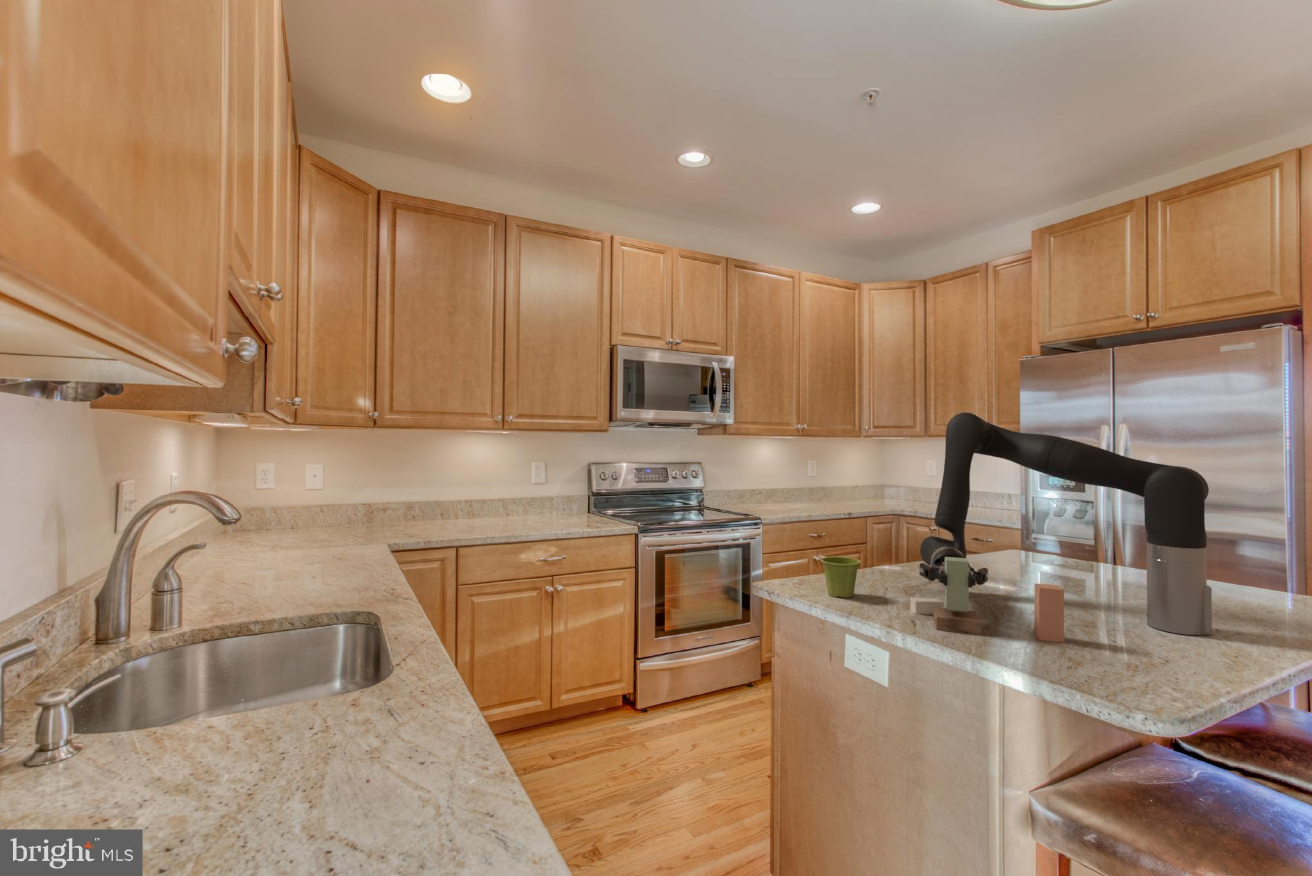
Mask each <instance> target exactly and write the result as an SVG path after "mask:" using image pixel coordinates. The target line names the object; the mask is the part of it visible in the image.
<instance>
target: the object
mask: <svg viewBox="0 0 1312 876" xmlns="http://www.w3.org/2000/svg"><path fill="white" fill-rule="evenodd" d="M820 562H821V563H822V567H823V568H824V577H825V584H826V589H827V590H826V591H827V594H828V596H831V597H833V598H838V597H839V598H843V599H848V598H853V596H854V595H855V588H856V581H857V573H858V569H859V567H860V565H861V560H859V559H858V558H853V557H846V556H825V557H822V558H820Z"/></svg>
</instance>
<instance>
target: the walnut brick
mask: <svg viewBox="0 0 1312 876" xmlns="http://www.w3.org/2000/svg"><path fill="white" fill-rule="evenodd" d="M932 615H933V617H932V618H933V623H934V626H935V630H936V631H942V632H950V633H951V632H952V633H959V632H964V633H963V634H968V633H970V635H977V634H980V635H979V636H982V621H981V619H980V617H979V615H978V613H977V611H976V610H969V609H968V611H957V610H947V609H946V607H944V608H940V607H933V614H932Z"/></svg>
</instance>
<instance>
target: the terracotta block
mask: <svg viewBox="0 0 1312 876" xmlns="http://www.w3.org/2000/svg"><path fill="white" fill-rule="evenodd" d="M1033 589H1034V596H1033V597H1034V605H1033V606H1034V610H1033V611H1034V615H1033V616H1034V618H1033V619H1034V623H1033V624H1034V627H1033V628H1034V629H1033V631H1034V635H1035V637H1037V639H1038V640H1039V641H1047V642H1055V643H1065V626H1064V625H1065V605H1064V604H1065V589H1063V588H1062V587H1061V586H1060V585H1059V584H1046V583H1036V582H1035V583H1034V588H1033Z"/></svg>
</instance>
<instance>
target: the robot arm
mask: <svg viewBox="0 0 1312 876" xmlns="http://www.w3.org/2000/svg"><path fill="white" fill-rule="evenodd" d="M974 454H978V455H982V456H990V457H994V458H998V459H999V458H1000V459H1003V460H1007V461H1009V462H1012V463H1015V464H1017V465H1020V466H1021V467H1025V468H1027V469H1030V470H1032V471H1035V472H1039V473H1041V474H1044V475H1048V476H1051V477H1054V478H1058V479H1062V480H1066V481H1070V482H1073V483H1077V484H1083V485H1084V484H1085V485H1090V486H1095V487H1102V488H1104V487H1105V488H1111V489H1115V490H1120V491H1124V492H1126V493H1130V494H1133V495H1136V496H1139V497H1141V498H1144V499H1143V501H1144V502H1143V504H1144V509H1143V510H1144V511H1143V513H1144V528H1145V533H1146V625H1148V626H1149V627H1151V628H1154V629H1156V630H1159V631H1164V632H1169V633H1173V634H1174V633H1175V634H1179V635H1189V636H1204V635H1206V636H1207V635H1208V636H1212V635H1213V634H1212V632H1213V631H1212V627H1213V626H1212V622H1213V621H1212V618H1213V617H1212V615H1213V614H1212V613H1213V612H1212V597H1213V596H1212V594H1213V593H1212V587H1211V586H1210V585H1208V584H1207V545H1208V544H1207V538H1208V537H1207V532H1206V523H1205V519H1206V518H1205V513H1206V512H1205V509H1206V508H1205V506H1206V504H1205V503H1206V502H1205V501H1206V500H1207V498H1208V495H1209V492H1210V491H1209V485H1208V481H1206V478H1205V477H1203V476H1202V474H1200V473H1199V472H1198V471H1196V470H1194V469H1192V468H1189V467H1185V466H1177V465H1170V464H1162V463H1158V462H1157V463H1156V462H1150V461H1146V460H1145V461H1144V460H1140V459H1135V458H1131V457H1127V456H1125V455H1121V454H1119V453H1115V452H1113V451H1110V450H1108V449H1104V448H1101V447H1099V446H1095V445H1092V444H1087V443H1085V442H1082V441H1081V442H1080V441H1077V440H1073V439H1070V438H1065V437H1061V436H1057V435H1056V436H1055V435H1050V434H1042V433H1029V432H1028V433H1027V432H1019V431H1014V430H1010V429H1007V428H1003V427H1000V426H998V425H995V424H992V423H990V422H988V421H986V420H984V419H983V418H981V417H980V416H978V415H976V414H974V413H971V412H960V413H957V414H955V415H953V416H952V418H950V420H949V421H948V422H947V424H946V429H945V452H944V455H945V456H944V466H943V467H944V468H943V475H942V481H941V486H940V492H939V497H938V502H937V506H936V510H935V515H934V521H933V522H934V525H935V526H936V527H938V528H940V529H942V530H944V531H947V532H948V533H950V534H951V535H952V538H953V540H951V539H947V538H943V537H939V536H933V535H931V536H927V537H925V538H924V539H923V540H922V542H921V544H920V548H919V553H920V558H921V559H922V561H923V562H924V563H923V562H921V563H919V569H918V570H919V572H918V573H919V575H920V576H921V577H923V578H925V579H927V580H928V581H931V582H934V581H935V580H937V582H938V583H940V584H943V586H945V585H946V586H947V574H946V572H945V557H954V558H966V559H967V549H966V540H965V539H966V538H965V531H966V530H965V529H966V522H967V521H966V520H967V517H968V512H969V508H970V499H971V483H970V482H971V480H970V479H971V478H970V477H971V468H972V467H971V466H972V460H973V457H974ZM988 581H989V568H987V567H982V568H978V569H977V570H975V568H974V567H972V566H971V565H970V564H969V576H968V587H969V588H971V589H972V588H973V587H974V586H976V585H978V586H981V585H984V584H985V583H987V582H988Z"/></svg>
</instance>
